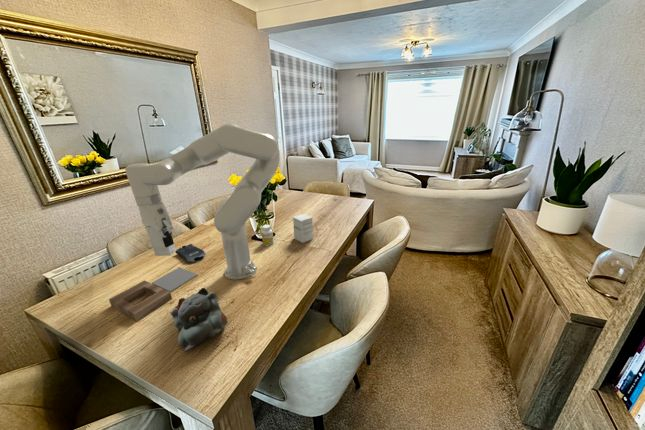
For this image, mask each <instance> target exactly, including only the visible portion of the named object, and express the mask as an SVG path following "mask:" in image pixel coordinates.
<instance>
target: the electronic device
mask: <svg viewBox="0 0 645 430" xmlns="http://www.w3.org/2000/svg"><path fill="white" fill-rule="evenodd" d="M174 254H177V255H178V256H179V257H180V258H182V259H184V261H185V262H186V263H192V264H193V263H196V262H197V263H199V262H200V261H201V260H203V258H205V256H206V255H207V254H206V251H204V250H203V249H201V248H200V247H197V246H196V245H195V246H194V244H193V243H190V244H187V245H182V246H181V247H179V248H176V251H175V252H174ZM200 258H202V259H200ZM198 259H200V260H198Z"/></svg>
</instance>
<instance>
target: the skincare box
mask: <svg viewBox="0 0 645 430" xmlns="http://www.w3.org/2000/svg"><path fill="white" fill-rule="evenodd" d="M164 228H165V227H162V229H164ZM145 229H146V233H147V235H148V237H149V238H148V239H149V242H150V245H151V247H152V249H153V253H154V256H155V257H163V256H164V257H165V256H166V257H167V256H170V257H171V256H172V255H173V254H175V251H176V249H177V248H176V245H175V243H174V244H173V245H171V246H169V247H165V245H164V242H163V239H162V238H163V236H162V234H161V233H160V231H157V230H153V229H152V228H151V227H146V228H145ZM166 231H167V230H164V233H165V232H166Z"/></svg>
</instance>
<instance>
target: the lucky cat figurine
mask: <svg viewBox="0 0 645 430" xmlns="http://www.w3.org/2000/svg"><path fill="white" fill-rule="evenodd" d="M170 315H171V316H172V318H173V323H174V327H176V328H177V330H178V333H179V334H178V337H177V343H178V345H179V346H180V347H182V348H183V349H184V350H183V352H185V351H188V350H190V349H192V348H194V347H196V346H197V345H199V344H201V343H203V342H205V341H207V340H209V339H211V338H213V337H214V336H216V335H217V334H219V333H220V332H221V331H223V330H224V328H225V327H226V325H228V319H227V316H226V315H225V313H224V312H223V311H222V310H221V307H220V304H219V302H218V296H217V294H216V292H215V291H211V292H208V290H207V289H206V288H205V287H201V288H200V289H199V290H198V292H196V293H193V294H191V295H190V296H188V297H186V298H185V297H181V298H179V299H178V302H177V305H176V306H175V307H173V309H172V310H171V311H170Z"/></svg>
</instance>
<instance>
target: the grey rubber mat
mask: <svg viewBox="0 0 645 430" xmlns="http://www.w3.org/2000/svg"><path fill="white" fill-rule="evenodd" d="M198 276H199V275H198V273H195V272H193V271H190V270H187V269H185V268H183V267H177V268H175V269H173V270H172V271H170V272H168V273H166V274H164V275H163V276H161V277H159V278H158V279H155V280H154V281H151V284H154V285H156V286H158V287H160V288H162V289H164V290H167V291H169V292H170V293H172V292H173V291H175V290H177V289H178V288H180V287H181V286H183V285H185V284H186V283H188V282H190V281H192V279H195V278H196V277H198Z"/></svg>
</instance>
